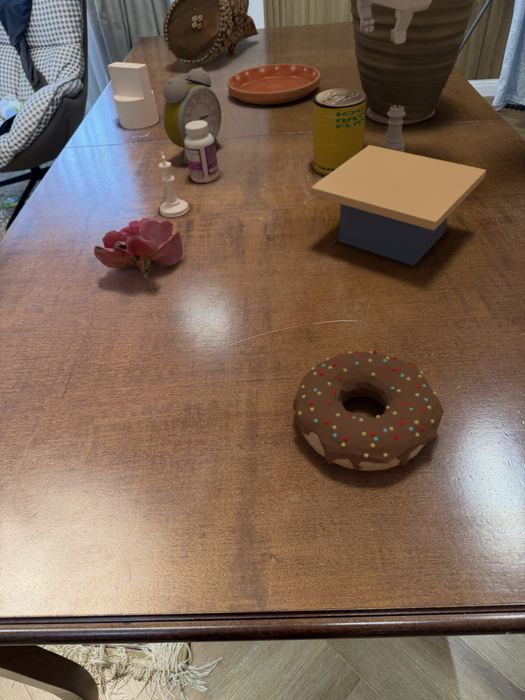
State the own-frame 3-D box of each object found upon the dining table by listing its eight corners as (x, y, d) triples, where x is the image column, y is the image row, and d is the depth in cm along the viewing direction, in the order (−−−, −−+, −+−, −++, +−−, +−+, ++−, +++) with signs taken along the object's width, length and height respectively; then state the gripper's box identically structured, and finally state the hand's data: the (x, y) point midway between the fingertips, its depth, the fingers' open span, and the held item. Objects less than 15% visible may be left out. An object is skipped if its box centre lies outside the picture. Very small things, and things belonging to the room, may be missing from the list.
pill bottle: (214, 168, 97) (206, 116, 90) (223, 179, 93) (215, 125, 86) (187, 174, 96) (177, 122, 89) (195, 186, 92) (185, 132, 85)
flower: (123, 277, 78) (133, 212, 76) (179, 291, 76) (191, 224, 74) (75, 277, 68) (86, 201, 66) (140, 294, 65) (152, 216, 63)
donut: (362, 509, 44) (366, 479, 41) (269, 414, 52) (266, 382, 49) (468, 427, 50) (479, 393, 46) (368, 352, 58) (372, 319, 54)
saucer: (215, 107, 122) (212, 90, 119) (247, 77, 137) (245, 62, 134) (306, 110, 115) (306, 93, 113) (329, 79, 130) (329, 63, 128)
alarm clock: (188, 168, 98) (173, 84, 87) (164, 161, 101) (146, 79, 90) (227, 146, 104) (217, 65, 94) (202, 140, 107) (190, 62, 97)
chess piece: (162, 219, 84) (148, 161, 77) (158, 206, 87) (144, 149, 80) (191, 213, 85) (180, 155, 78) (186, 200, 88) (175, 143, 81)
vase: (480, 126, 104) (508, -53, 80) (363, 147, 107) (358, -20, 83) (448, 74, 119) (465, -89, 96) (347, 94, 122) (339, -60, 99)
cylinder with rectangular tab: (112, 126, 117) (97, 70, 109) (136, 113, 123) (123, 58, 114) (143, 131, 114) (129, 72, 105) (166, 116, 119) (155, 60, 111)
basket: (178, -6, 162) (136, -5, 134) (236, -50, 153) (204, -59, 125) (216, 68, 172) (184, 83, 144) (273, 31, 163) (251, 39, 135)
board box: (472, 229, 75) (486, 169, 68) (424, 284, 66) (435, 221, 60) (365, 200, 84) (369, 144, 77) (310, 245, 75) (310, 187, 69)
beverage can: (370, 160, 94) (375, 91, 86) (348, 180, 89) (351, 109, 81) (328, 152, 98) (329, 85, 90) (304, 170, 93) (303, 102, 85)
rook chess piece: (393, 159, 94) (398, 114, 88) (375, 152, 96) (379, 108, 91) (409, 151, 96) (415, 107, 90) (391, 145, 98) (395, 101, 93)
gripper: (453, -77, 64) (437, 46, 74) (372, -81, 78) (367, 22, 88) (410, -70, 63) (399, 54, 72) (335, -76, 77) (335, 29, 87)
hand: (381, 36), depth 80 cm, fingers open, 8 cm apart
